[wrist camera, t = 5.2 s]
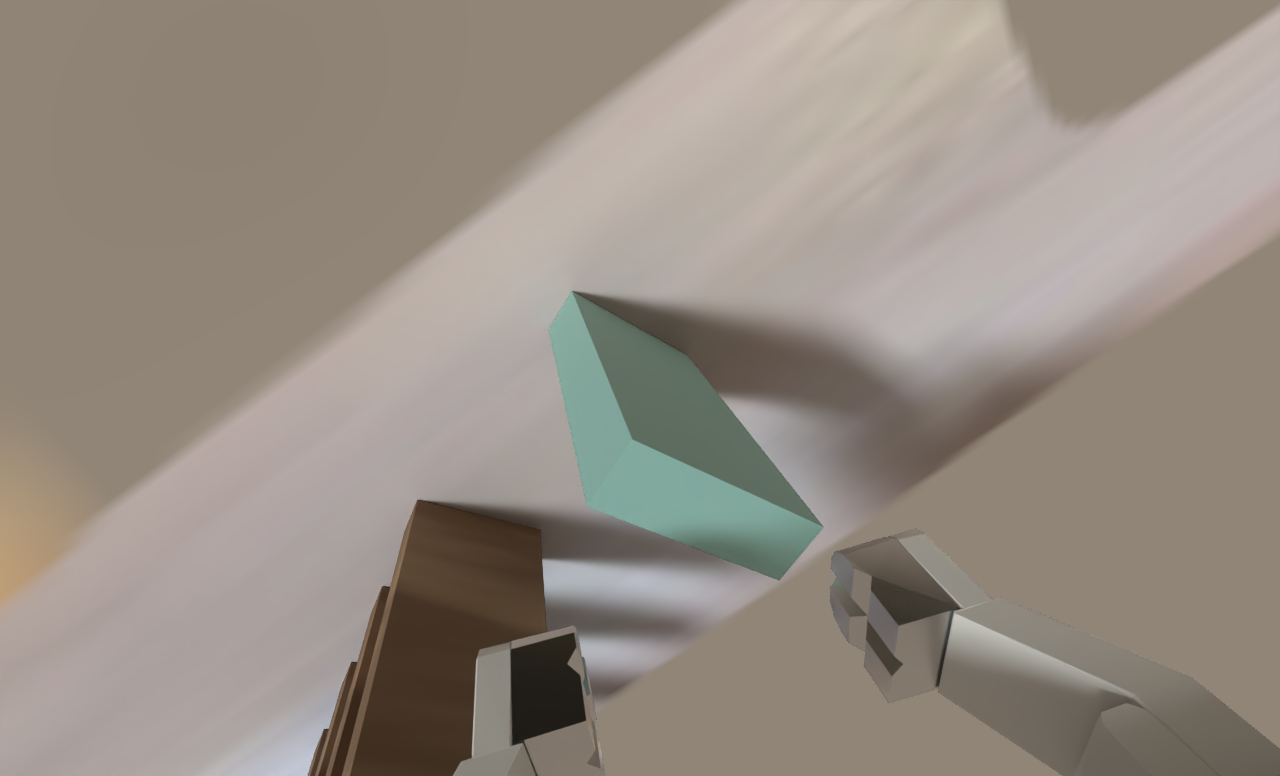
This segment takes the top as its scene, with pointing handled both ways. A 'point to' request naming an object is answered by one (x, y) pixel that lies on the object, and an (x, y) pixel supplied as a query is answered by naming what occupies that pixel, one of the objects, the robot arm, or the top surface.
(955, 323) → the top surface
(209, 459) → the top surface
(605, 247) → the top surface
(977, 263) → the top surface
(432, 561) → the domino
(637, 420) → the domino
